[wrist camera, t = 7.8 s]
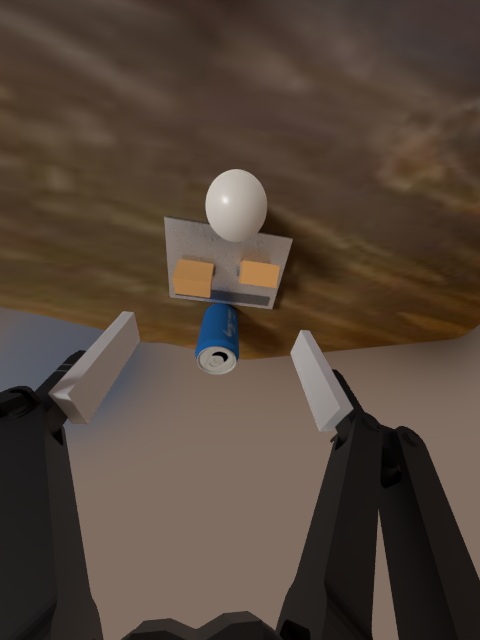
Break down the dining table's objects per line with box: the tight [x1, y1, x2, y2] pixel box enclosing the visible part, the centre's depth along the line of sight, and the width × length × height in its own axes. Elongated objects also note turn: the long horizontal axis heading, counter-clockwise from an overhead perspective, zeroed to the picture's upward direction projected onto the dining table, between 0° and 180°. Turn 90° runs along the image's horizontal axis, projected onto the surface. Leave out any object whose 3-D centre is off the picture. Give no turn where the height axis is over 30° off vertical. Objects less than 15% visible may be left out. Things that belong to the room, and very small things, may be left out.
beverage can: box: [195, 304, 239, 375], centre depth 30 cm, size 6×6×12 cm
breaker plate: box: [164, 216, 293, 309], centre depth 29 cm, size 12×18×2 cm, turn 81°
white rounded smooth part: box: [206, 169, 267, 242], centre depth 18 cm, size 5×5×16 cm
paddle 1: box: [172, 259, 216, 298], centre depth 26 cm, size 3×6×5 cm, turn 80°
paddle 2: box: [237, 260, 280, 288], centre depth 26 cm, size 3×6×5 cm, turn 81°
